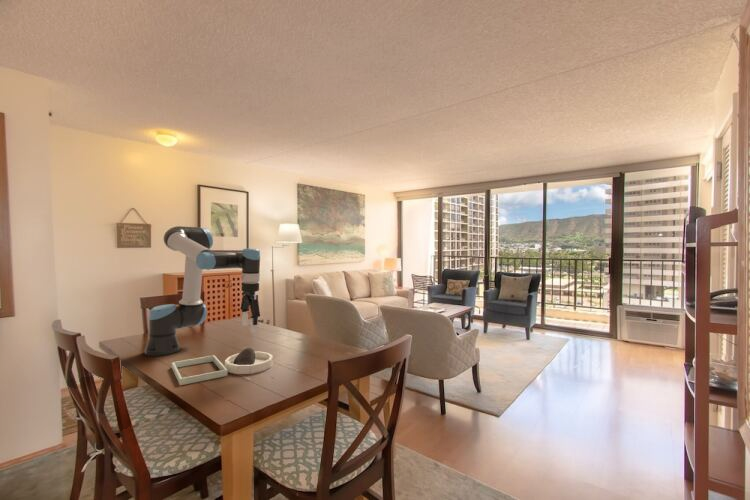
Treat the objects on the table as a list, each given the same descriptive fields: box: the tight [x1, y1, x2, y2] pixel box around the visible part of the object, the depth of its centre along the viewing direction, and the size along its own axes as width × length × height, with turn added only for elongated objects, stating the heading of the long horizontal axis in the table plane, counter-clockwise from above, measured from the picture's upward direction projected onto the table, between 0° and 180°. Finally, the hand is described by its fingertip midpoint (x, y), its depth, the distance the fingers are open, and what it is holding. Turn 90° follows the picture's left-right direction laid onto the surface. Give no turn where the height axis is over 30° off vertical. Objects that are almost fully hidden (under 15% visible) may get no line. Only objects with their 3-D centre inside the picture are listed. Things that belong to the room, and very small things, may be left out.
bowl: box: [224, 351, 274, 375], centre depth 157 cm, size 20×20×4 cm
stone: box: [233, 347, 256, 365], centre depth 156 cm, size 10×8×10 cm
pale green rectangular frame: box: [171, 354, 229, 386], centre depth 148 cm, size 24×18×2 cm
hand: (249, 328), depth 157 cm, fingers open, 13 cm apart
